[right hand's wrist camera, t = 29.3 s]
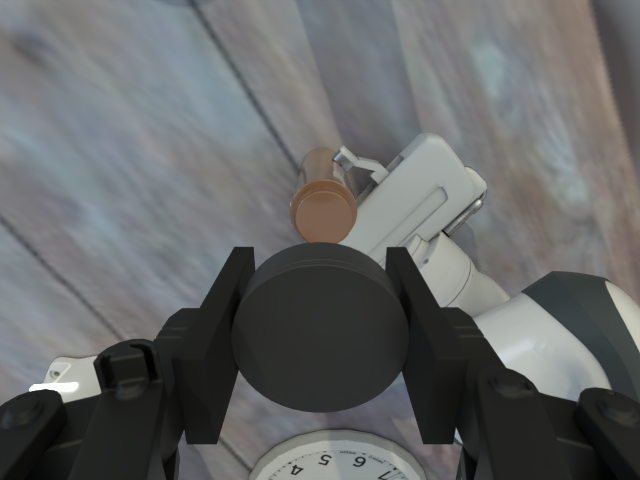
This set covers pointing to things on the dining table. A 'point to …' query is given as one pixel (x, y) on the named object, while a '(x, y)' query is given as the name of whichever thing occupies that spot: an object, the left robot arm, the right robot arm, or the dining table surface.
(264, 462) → the wall clock
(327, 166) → the bottle
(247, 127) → the dining table surface
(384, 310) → the lid
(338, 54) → the dining table surface
